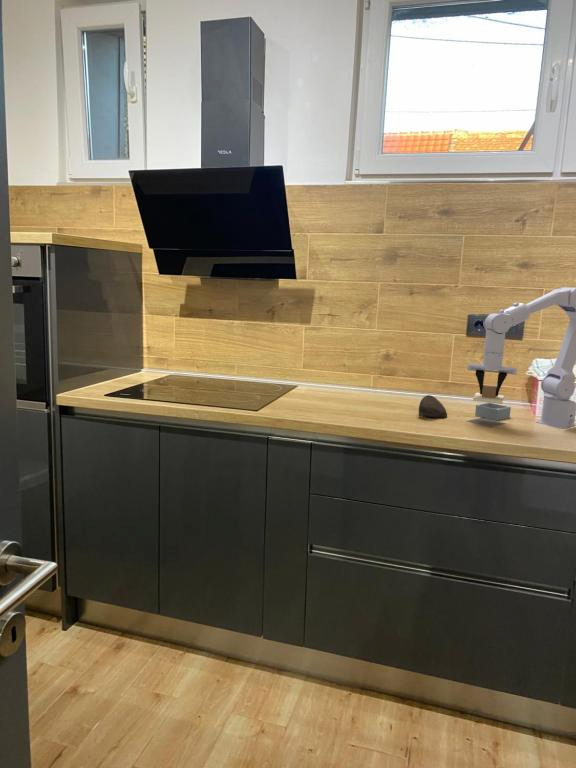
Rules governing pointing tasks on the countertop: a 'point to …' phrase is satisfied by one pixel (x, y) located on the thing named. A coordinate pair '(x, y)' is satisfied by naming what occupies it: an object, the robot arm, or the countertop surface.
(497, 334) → the robot arm
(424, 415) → the stone
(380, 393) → the countertop surface
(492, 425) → the mat
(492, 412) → the box
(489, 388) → the lid
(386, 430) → the countertop surface
